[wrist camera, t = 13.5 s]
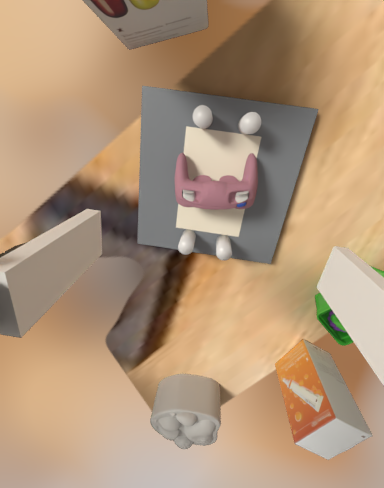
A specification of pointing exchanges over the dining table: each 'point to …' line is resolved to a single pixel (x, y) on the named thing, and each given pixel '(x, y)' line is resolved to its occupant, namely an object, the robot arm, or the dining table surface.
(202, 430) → the lumpy-topped squat cylinder
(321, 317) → the fruit basket
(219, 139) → the docking tray
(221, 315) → the dining table surface
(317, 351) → the small box
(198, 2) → the supplement box
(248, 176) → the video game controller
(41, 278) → the robot arm
